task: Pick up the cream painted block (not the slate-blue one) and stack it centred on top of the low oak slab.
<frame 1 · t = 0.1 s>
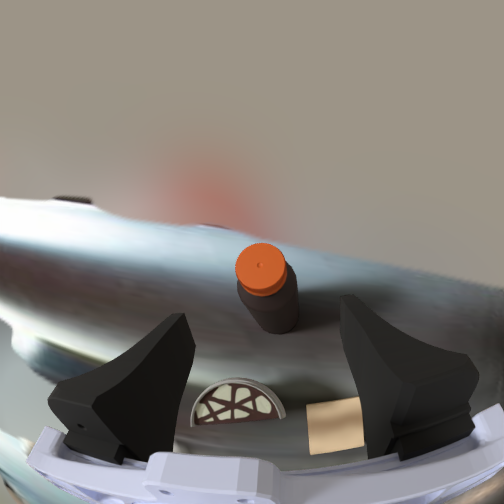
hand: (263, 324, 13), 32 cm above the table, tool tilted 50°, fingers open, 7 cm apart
bottle: (277, 314, 45), on the table
food container: (246, 397, 40), on the table
oak slab: (334, 424, 36), on the table
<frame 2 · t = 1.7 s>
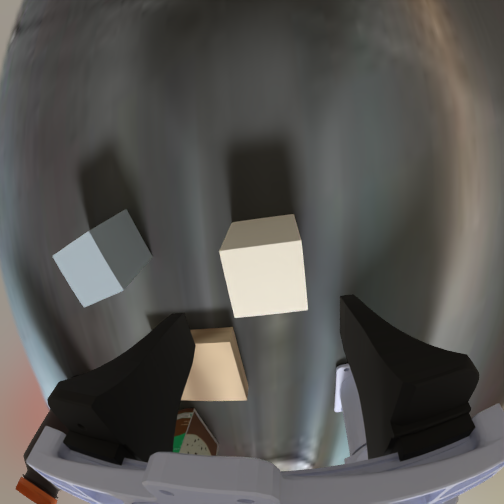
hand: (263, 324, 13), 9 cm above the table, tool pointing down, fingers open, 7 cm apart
cream block: (267, 246, 21), on the table
bottle: (90, 390, 31), on the table
food container: (186, 426, 32), on the table
oak slab: (202, 357, 27), on the table
slate block: (120, 243, 22), on the table
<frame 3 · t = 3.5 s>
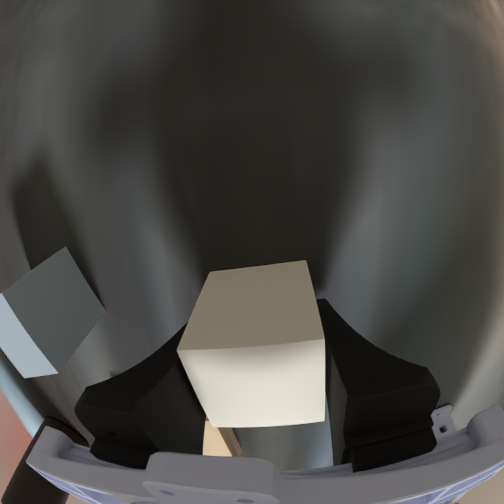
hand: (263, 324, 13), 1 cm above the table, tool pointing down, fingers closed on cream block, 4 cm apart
cream block: (264, 307, 14), on the table, touching gripper
bottle: (67, 431, 24), on the table
oak slab: (184, 421, 19), on the table
slate block: (65, 290, 15), on the table
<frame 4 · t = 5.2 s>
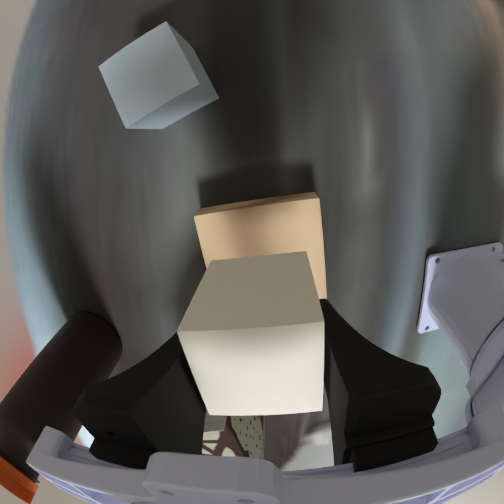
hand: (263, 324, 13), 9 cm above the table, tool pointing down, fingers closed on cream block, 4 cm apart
cream block: (263, 297, 14), point 7 cm above the table, touching gripper
bottle: (97, 335, 26), on the table
food container: (225, 377, 27), on the table
oak slab: (265, 250, 21), on the table
slate block: (177, 87, 17), on the table
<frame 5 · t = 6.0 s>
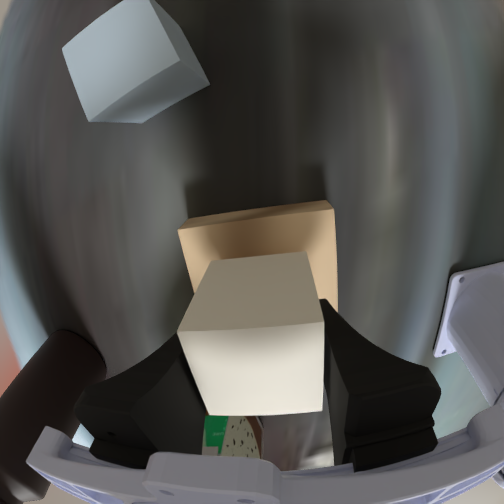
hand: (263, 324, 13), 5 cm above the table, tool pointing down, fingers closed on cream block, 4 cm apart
cream block: (263, 297, 14), point 3 cm above the table, touching gripper
bottle: (79, 354, 23), on the table
food container: (219, 403, 23), on the table
oak slab: (265, 269, 18), on the table
slate block: (160, 73, 13), on the table
when the fingers open (5 cm above the table, at t = 6.8 s): cream block drops 1 cm, point 2 cm above the table.
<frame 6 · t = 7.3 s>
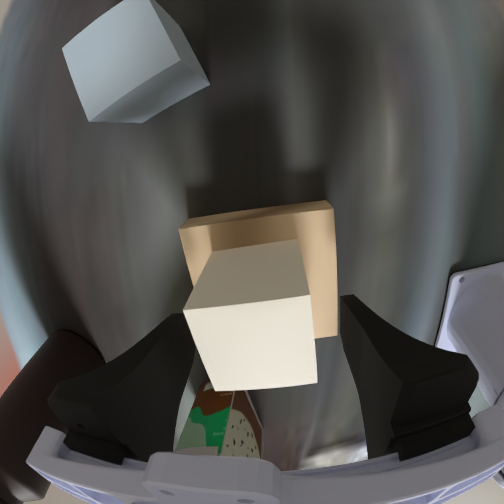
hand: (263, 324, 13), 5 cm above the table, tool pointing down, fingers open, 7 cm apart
cream block: (261, 283, 15), point 2 cm above the table
bottle: (79, 354, 23), on the table
food container: (219, 403, 23), on the table
oak slab: (266, 268, 18), on the table
slate block: (160, 73, 13), on the table
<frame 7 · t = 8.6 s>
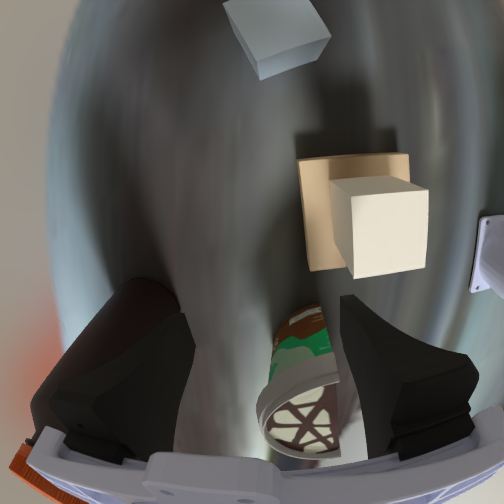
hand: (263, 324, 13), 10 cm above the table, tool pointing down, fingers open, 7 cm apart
cream block: (362, 208, 19), point 2 cm above the table
bottle: (149, 307, 26), on the table
food container: (293, 346, 26), on the table
oak slab: (351, 204, 21), on the table
slate block: (275, 45, 16), on the table
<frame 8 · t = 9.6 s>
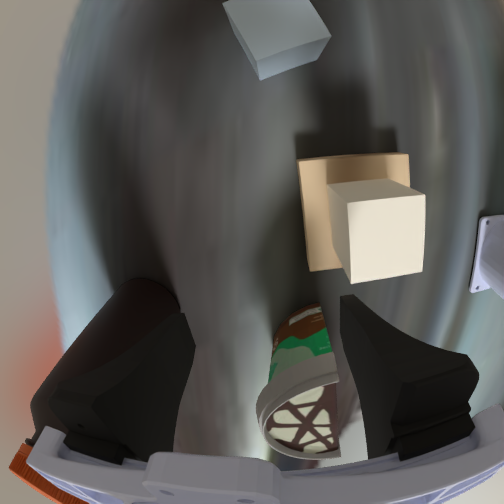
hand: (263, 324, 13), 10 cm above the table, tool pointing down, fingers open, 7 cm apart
cream block: (360, 212, 19), point 2 cm above the table, touching oak slab
bottle: (149, 307, 26), on the table
food container: (293, 346, 26), on the table
oak slab: (351, 205, 21), on the table, touching cream block
slate block: (275, 45, 16), on the table
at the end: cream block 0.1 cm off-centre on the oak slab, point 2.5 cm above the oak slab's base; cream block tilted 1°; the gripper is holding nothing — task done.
